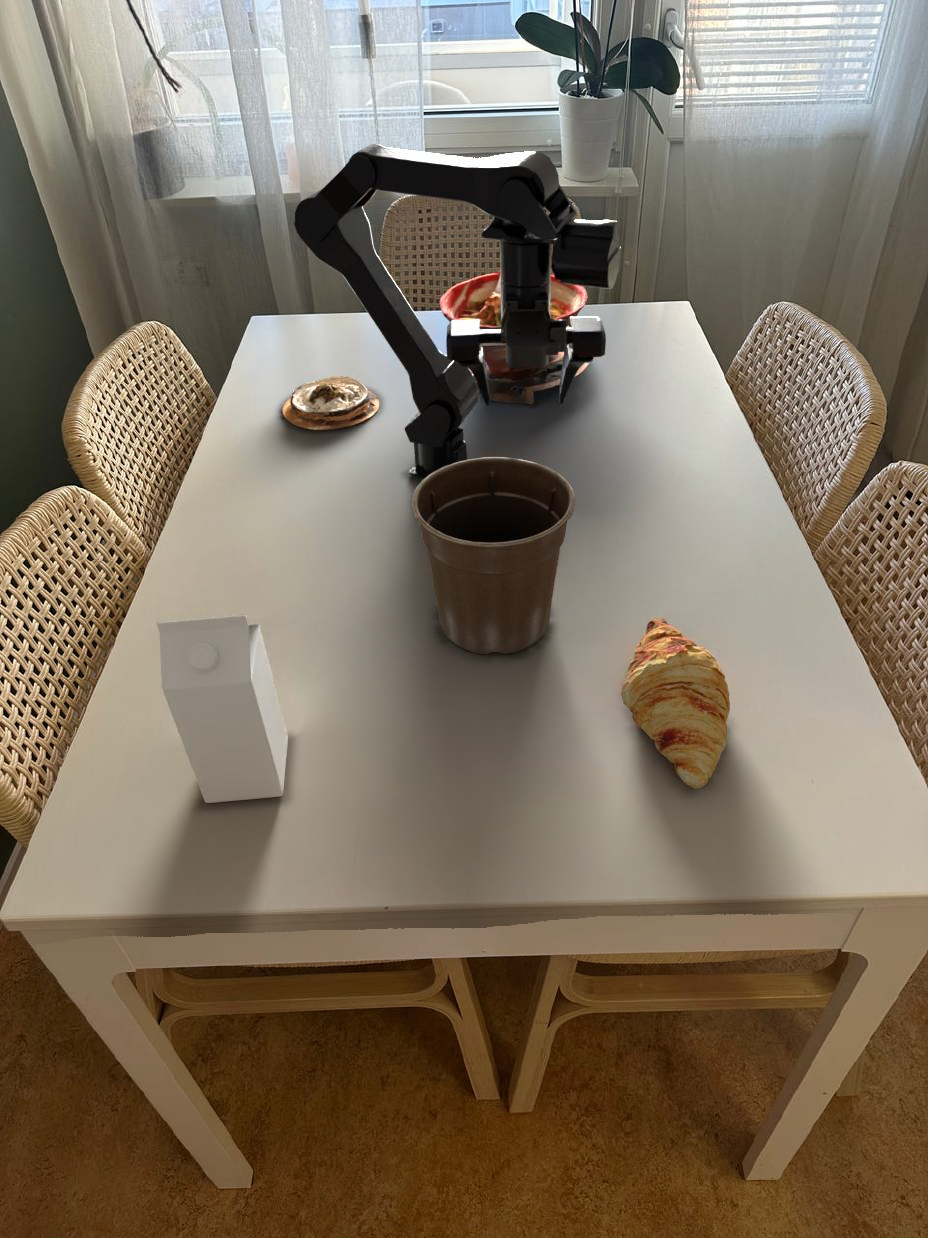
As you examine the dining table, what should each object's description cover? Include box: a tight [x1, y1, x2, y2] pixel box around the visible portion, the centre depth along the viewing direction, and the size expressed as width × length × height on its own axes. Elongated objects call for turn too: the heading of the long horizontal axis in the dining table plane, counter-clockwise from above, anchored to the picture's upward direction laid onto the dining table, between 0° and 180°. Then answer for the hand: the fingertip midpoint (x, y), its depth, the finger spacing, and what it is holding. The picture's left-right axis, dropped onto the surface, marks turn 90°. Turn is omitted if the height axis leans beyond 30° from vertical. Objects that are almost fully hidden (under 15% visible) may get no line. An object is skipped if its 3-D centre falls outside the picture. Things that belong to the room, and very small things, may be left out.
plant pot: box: [411, 456, 576, 656], centre depth 92 cm, size 16×16×16 cm
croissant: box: [620, 617, 731, 789], centre depth 84 cm, size 21×10×8 cm, turn 2°
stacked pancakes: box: [282, 375, 380, 431], centre depth 135 cm, size 15×15×4 cm
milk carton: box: [156, 613, 289, 804], centre depth 76 cm, size 7×7×19 cm
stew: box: [438, 264, 590, 405], centre depth 140 cm, size 28×24×16 cm
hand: (524, 403), depth 110 cm, fingers open, 9 cm apart
